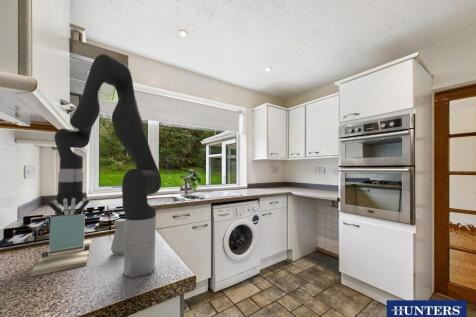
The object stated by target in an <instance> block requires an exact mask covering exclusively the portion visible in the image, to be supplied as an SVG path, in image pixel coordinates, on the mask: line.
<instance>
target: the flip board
mask: <svg viewBox="0 0 476 317" xmlns="http://www.w3.org/2000/svg"><path fill="white" fill-rule="evenodd" d="M92 242H93V238H86V239H84V245H83V246H84V248H83V249H78V250H72V251H66V252H60V253H54V254H49V247H47V249H46V250H43V251H42V252H41V257H40V259H39V260H38V261H37V263H36V264H34V267H33V268H32V269H31V270H30V272H29V277H34V276H38V275H44V274H48V273H49V274H50V273H54V272H59V271H64V270H68V269H73V268H78V267H83V266H84V267H85V266H87V264H88V260H89V255H90V251H91V247H92ZM79 247H80V246H79ZM72 248H73V247H72ZM66 249H67V248H66ZM60 250H61V249H60ZM54 251H55V250H54Z"/></svg>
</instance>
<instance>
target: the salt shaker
mask: <svg viewBox="0 0 476 317" xmlns="http://www.w3.org/2000/svg"><path fill="white" fill-rule="evenodd" d="M113 226H114V227H115V231H114V235H113V239H112V243H111V247H110V250H111V252H112V254H113V256H124V236H125V218H120V219H116V220H115V221H114V222H113Z"/></svg>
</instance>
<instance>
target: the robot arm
mask: <svg viewBox="0 0 476 317" xmlns="http://www.w3.org/2000/svg"><path fill="white" fill-rule="evenodd" d="M86 78H87V79H86V82H85V84H84V89H83V92H82V95H81V98H80V100H79V103H78V105H77V106H76V108H75V110H74V111H73V114H72V116H71V118H70V119H69V122H70V125H71V126H72V127H73V128H75V129H70V128H60V129H58V130H56V132H55V134H54V142H55V146H56V148H57V152H58V155H59V172H58V178H57V179H58V182H57V195H56V197H55V199H54V200H52V201H50V202H48V205H47V206H49V207H50V208H51V209H52V210H53V211H54V212H55V213H56V214H57V215H59V216H68V215H78V214H79V213H80V214H81V212H82V211H83V209H84V208H86V207H87V206H88V204H89V203H90V199H88V198H86V197H85V194H84V192H83V190H84V188H83V187H84V173H83V172H84V170H83V168H84V163H83V162H84V158H83V155H82V154H80V153H76V152H74V151H72V148H73V149H83V148H86V147H87V146H88V145H89V143H90V138H91V133H92V129H93V126H94V124H95V123H96V121H97V120H98V118H99V115H100V112H101V106H100V99H99V98H100V97H99V91H100V90H101V88H102V85H103V84H107V85H110V86H112V87H114V89H115V90H116V94H117V102H116V105H115V107H114V109H113V112H112V114H111V121H112V125H113V129H114V133H115V136H116V137H117V139H118V141H119V142H120V144H121V145H122V146H123V147H124V149H125V150H126V152H128V153H129V155H130V156H131V157H132V159H133V161H134V164H135V166H136V168H130V169H129V170H127V171H126V172H125V174H124V175H123V177H122V186H121V190H122V191H121V192H122V197H121V199H122V209H123V212H124V219H125V236H124V254H123V275H124V276H125V277H128V278H129V279H133V278H138V277H141V276H145V275H149V274H152V273H153V270H155V262H156V228H157V227H156V226H157V225H156V224H157V220H156V219H157V215H156V214H157V209H156V207H155V206H153V205H151V204H149V202H148V196H152V195H154V194H157V193H158V192H159V191H160V189H161V187H162V177H161V174H160V171H159V168H158V166H157V164H156V162H155V161H156V160H155V159H154V156H153V154H152V150H151V149H150V144H149V141H148V138H147V135H146V132H145V131H146V130H145V126H144V124H143V120H142V116H141V114H140V113H141V112H140V110H139V107H138V102H137V98H136V94H135V89H134V82H133V76H132V72H131V69H130V68H129V67H128V65H127V64H125V63H123V62H122V61H120V60H117V59H115V58H114V57H112V56H111V55H108V54H105V53H101V54H99V55H97V56H96V57H95V59H94V60H93V62H92V64H91V66H90V70H89V72H88V76H87V77H86ZM80 203H81V206H79V207H78V208H77V209H76V207H77V206H78V205H79V204H80ZM59 204H60V206H61V207H63V209H61V208H60V206H58V205H59Z"/></svg>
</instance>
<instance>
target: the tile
mask: <svg viewBox="0 0 476 317" xmlns="http://www.w3.org/2000/svg"><path fill="white" fill-rule="evenodd" d="M85 220H86V214H85V213H80V214H79V213H78V214H75V215H70V214H69V215H68V216H63V215H59V216H51V217H50V222H49V223H50V225H49V243H48V244H49V245H48V248H49V254H54V253H60V252H66V251H72V250H78V249H83V248H84V246H83V245H84V240H85V224H86V222H85ZM79 246H80V247H79ZM72 247H73V248H72ZM66 248H67V249H66ZM60 249H61V250H60ZM54 250H55V251H54Z"/></svg>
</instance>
